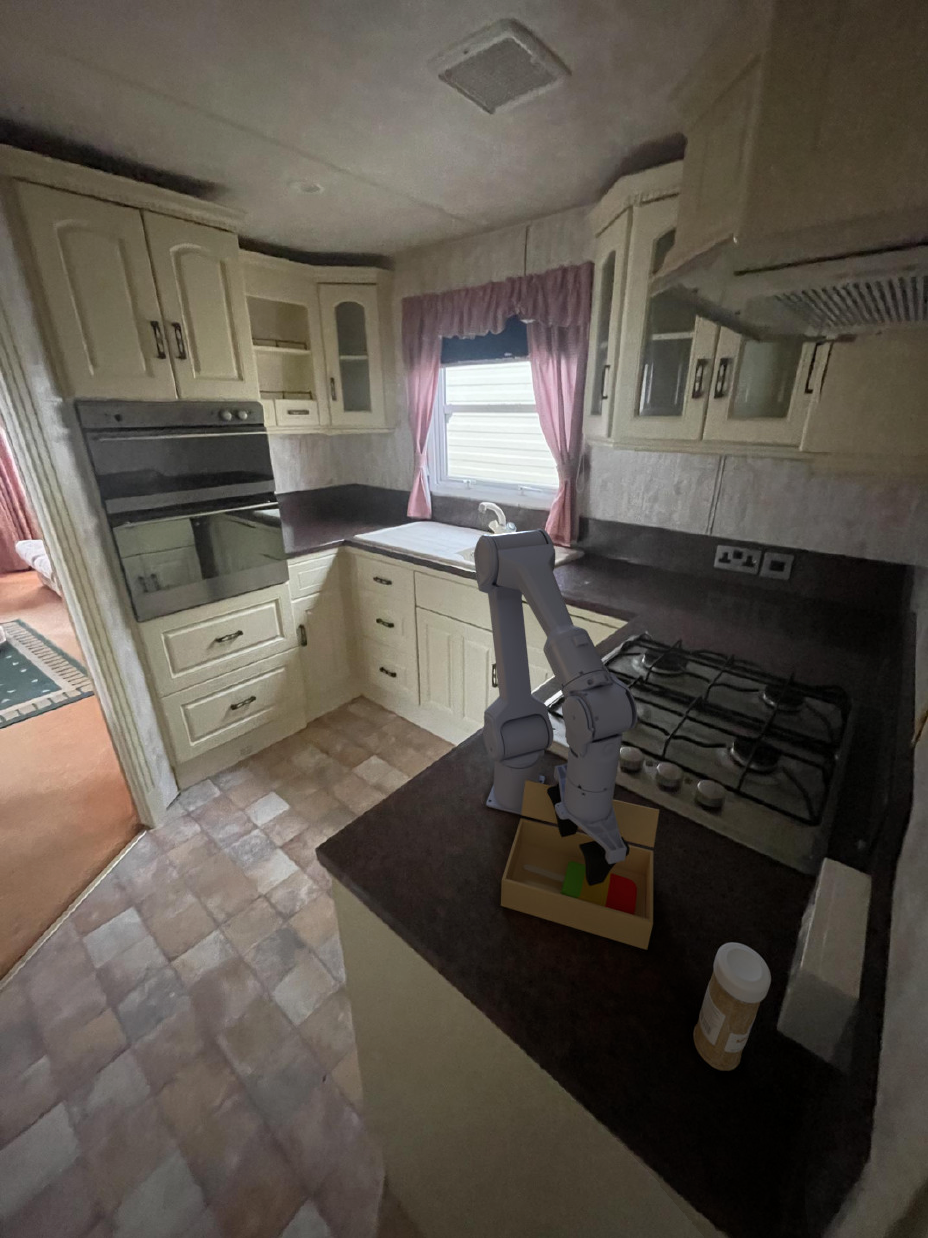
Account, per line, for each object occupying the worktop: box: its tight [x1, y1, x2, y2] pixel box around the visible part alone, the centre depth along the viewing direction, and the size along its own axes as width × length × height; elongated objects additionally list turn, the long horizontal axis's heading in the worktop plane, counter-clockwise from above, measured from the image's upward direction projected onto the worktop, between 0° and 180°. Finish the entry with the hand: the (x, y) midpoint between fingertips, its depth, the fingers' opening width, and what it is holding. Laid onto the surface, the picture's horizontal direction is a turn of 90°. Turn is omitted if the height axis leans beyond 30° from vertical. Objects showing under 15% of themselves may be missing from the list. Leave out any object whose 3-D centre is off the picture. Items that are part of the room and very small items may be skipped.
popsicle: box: [523, 861, 637, 915], centre depth 69 cm, size 6×15×2 cm, turn 68°
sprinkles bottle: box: [692, 942, 772, 1072], centre depth 50 cm, size 5×5×14 cm
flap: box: [520, 780, 660, 849], centre depth 71 cm, size 5×18×1 cm
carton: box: [500, 817, 654, 951], centre depth 68 cm, size 11×18×5 cm, turn 71°
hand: (580, 856), depth 67 cm, fingers open, 7 cm apart
